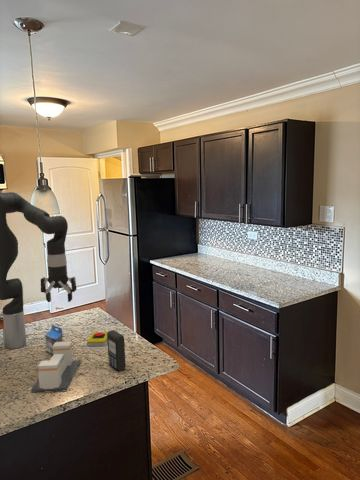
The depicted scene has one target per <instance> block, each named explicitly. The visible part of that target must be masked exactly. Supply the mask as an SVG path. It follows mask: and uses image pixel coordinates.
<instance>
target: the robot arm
mask: <svg viewBox="0 0 360 480" xmlns="http://www.w3.org/2000/svg"><path fill="white" fill-rule="evenodd" d="M13 213H21V214H23V217H24V219H25V220H26V221H27V222H28V223H30V224H32V225H34V226H37V228H38V229H39V230H40V231H41V232H42V233H43V234H46V235H53V237H52V238H50V239H49V240H47V241H46V256H47V258H46V262H47V264H46V265H47V276H48V277H44V276H43V277H42V278H40V292H41V293H44V294H45V300H46V301H47V302H48V303H51V302H52V296H51V295H52V293H51V291H52V289H63V290H65V291H66V293H67V302H68V303H70V302H71V301H72V300H73V293H75V292H76V291H77V289H78V288H77V281H76V276H73V277H68V268H67V267H68V266H67V265H68V264H67V263H68V261H67V256H66V247H65V245H66V244H65V243H66V238H67V233H68V225H69V224H68V220H67V219H66V218H65V217H64V216H63V215H53V216H51V215H50V214H49V213H48V212H47V211H46V210H44V209H41V208H39V207H37V206H35V205H33V204H32V203H30V202H29V201H28V200H26V199H25V198H24V197H23V196H21V195H20V194H18V193H17V192H14V191H13V192H12V191H11V192H9V191H8V192H0V301H7V300H10V299H12V300H11V301H10V302H9V303H7V304H5V305H4V306H3V307H2V320H3V328H2V339H3V347H4V349H8V350H16V349H19V348H23V347H25V346H26V345H27V344H28V343H27V333H26V324H25V323H26V321H25V313H24V289H23V288H24V287H23V282H22V281H21V279H20V278H10V279H7V277H8V273H9V271H10V270H11V267H12V266H13V265H14V263H15V262H16V260H17V258H18V255H19V241H18V238H17V237H16V235H15V233H14V232H13V231H12V230H11V228H10V227H9V225H8V221H7V214H13ZM68 282H69V283H71V285H69V283H68ZM46 283H48V284H49V286H48V287H46V285H47V284H46ZM70 286H71V287H70Z"/></svg>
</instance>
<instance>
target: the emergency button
mask: <svg viewBox="0 0 360 480" xmlns="http://www.w3.org/2000/svg"><path fill="white" fill-rule="evenodd" d="M107 332H108V331H107ZM107 332H106V331H104V332H103V331H102V332H99V331H97V332H92V333H91V335H90V336H89V338H88V339H87V342H86V346H85V349H86V350H103V349H106V347H107V346H108V342H107Z"/></svg>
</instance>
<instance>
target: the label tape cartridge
mask: <svg viewBox="0 0 360 480" xmlns="http://www.w3.org/2000/svg"><path fill="white" fill-rule="evenodd" d="M44 337H45V338H44V339H45V347H46V349H45V350H46V353H49V354H51V355H53V347H52V346H53V345H54V343H55V342H64V340H63V328H62V327H58V325H57V326H56V325H54V324H51V329H50V330H49V331H48V332H46V334H45V335H44Z"/></svg>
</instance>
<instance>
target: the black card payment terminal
mask: <svg viewBox="0 0 360 480" xmlns="http://www.w3.org/2000/svg"><path fill="white" fill-rule="evenodd" d="M107 342H108V343H107V356H108V357H107V358H108V364H109V365H110V366H112V368H114V369H115V370H116V371H118V372H121V371H124V370H125V369H126V348H125V347H126V345H125V337H124V335H123V334H121V333H119V332H117V331H116V330H109V331H107Z"/></svg>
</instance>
